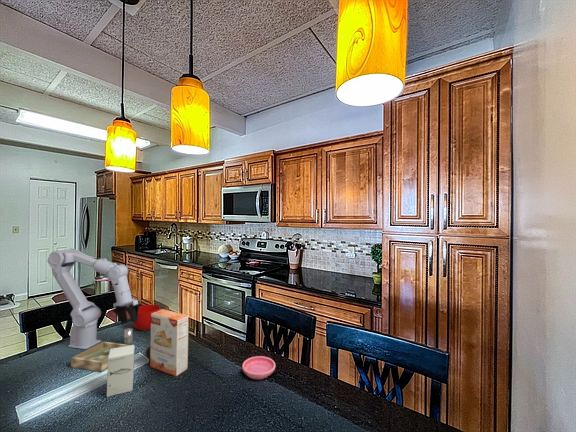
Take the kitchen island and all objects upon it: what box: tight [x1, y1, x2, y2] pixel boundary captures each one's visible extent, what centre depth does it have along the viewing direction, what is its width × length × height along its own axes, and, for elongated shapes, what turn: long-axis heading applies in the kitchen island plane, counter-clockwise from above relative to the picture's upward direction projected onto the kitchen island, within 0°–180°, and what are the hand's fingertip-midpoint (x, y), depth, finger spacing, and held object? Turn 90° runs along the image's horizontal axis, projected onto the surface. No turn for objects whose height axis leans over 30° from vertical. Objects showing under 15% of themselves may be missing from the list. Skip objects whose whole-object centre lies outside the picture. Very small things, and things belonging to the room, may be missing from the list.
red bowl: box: [132, 304, 161, 332], centre depth 137 cm, size 13×17×10 cm
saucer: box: [241, 355, 276, 380], centre depth 101 cm, size 12×12×3 cm
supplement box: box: [106, 344, 135, 398], centre depth 90 cm, size 7×7×13 cm
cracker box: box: [149, 308, 190, 377], centre depth 102 cm, size 14×6×21 cm, turn 65°
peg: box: [123, 327, 134, 345], centre depth 120 cm, size 3×3×7 cm
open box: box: [70, 341, 129, 373], centre depth 107 cm, size 14×14×4 cm
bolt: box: [145, 344, 151, 360], centre depth 116 cm, size 6×5×15 cm
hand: (129, 321), depth 119 cm, fingers open, 7 cm apart
